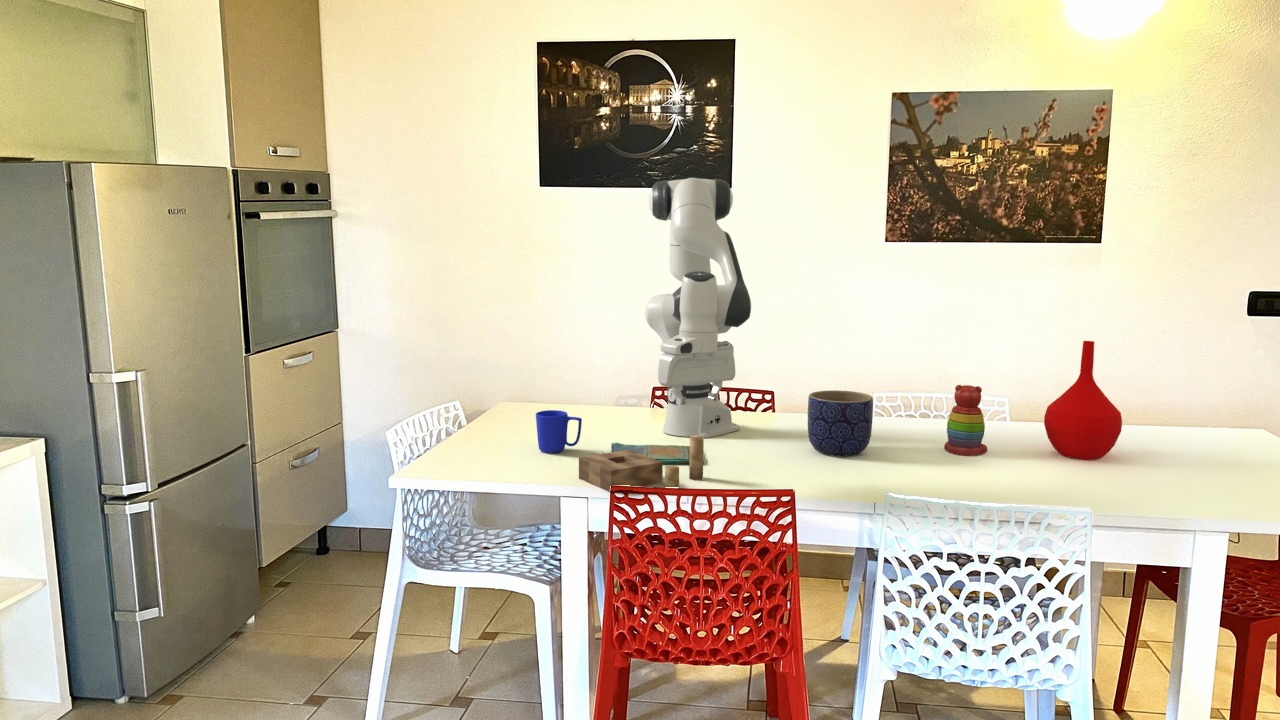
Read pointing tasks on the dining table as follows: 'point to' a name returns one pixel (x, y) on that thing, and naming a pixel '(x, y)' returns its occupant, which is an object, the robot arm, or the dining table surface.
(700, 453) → the long dowel
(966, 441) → the stacking bear
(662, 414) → the dining table surface
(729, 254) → the robot arm
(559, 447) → the mug
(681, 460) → the dish towel
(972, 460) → the dining table surface
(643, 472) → the hole block
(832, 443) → the planter
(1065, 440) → the vase
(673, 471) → the short dowel
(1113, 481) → the dining table surface
